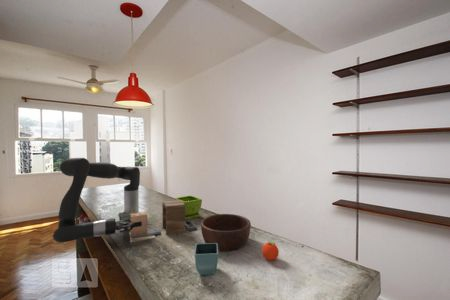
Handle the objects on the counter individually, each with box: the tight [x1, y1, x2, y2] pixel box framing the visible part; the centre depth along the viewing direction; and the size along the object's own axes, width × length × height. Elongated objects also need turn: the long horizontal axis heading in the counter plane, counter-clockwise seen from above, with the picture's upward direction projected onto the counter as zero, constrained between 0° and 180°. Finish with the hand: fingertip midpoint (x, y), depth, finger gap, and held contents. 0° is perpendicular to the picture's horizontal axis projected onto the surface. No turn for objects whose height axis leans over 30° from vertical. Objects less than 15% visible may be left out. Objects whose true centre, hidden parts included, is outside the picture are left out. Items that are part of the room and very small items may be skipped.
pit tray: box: [185, 219, 198, 232], centre depth 126 cm, size 12×5×2 cm, turn 27°
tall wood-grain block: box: [129, 211, 162, 238], centre depth 115 cm, size 7×15×11 cm, turn 117°
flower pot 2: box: [194, 243, 219, 276], centre depth 82 cm, size 9×9×9 cm
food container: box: [118, 207, 137, 227], centre depth 125 cm, size 12×6×10 cm, turn 168°
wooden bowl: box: [200, 213, 252, 252], centre depth 107 cm, size 25×25×10 cm
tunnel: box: [161, 199, 186, 236], centre depth 122 cm, size 12×10×16 cm
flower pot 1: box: [174, 195, 203, 221], centre depth 143 cm, size 14×14×13 cm
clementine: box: [261, 241, 280, 261], centre depth 91 cm, size 8×7×7 cm
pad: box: [128, 231, 156, 243], centre depth 114 cm, size 14×12×1 cm
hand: (140, 222), depth 114 cm, fingers closed on tall wood-grain block, 5 cm apart
